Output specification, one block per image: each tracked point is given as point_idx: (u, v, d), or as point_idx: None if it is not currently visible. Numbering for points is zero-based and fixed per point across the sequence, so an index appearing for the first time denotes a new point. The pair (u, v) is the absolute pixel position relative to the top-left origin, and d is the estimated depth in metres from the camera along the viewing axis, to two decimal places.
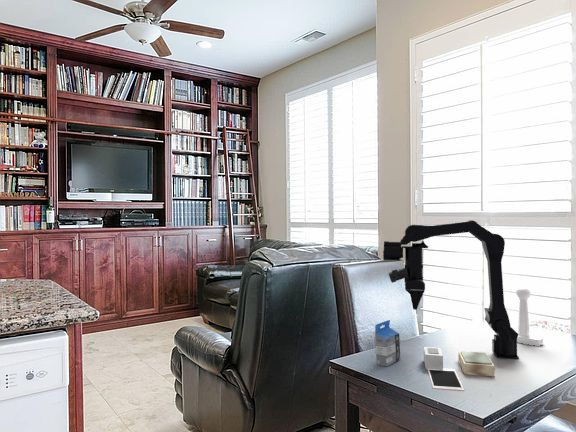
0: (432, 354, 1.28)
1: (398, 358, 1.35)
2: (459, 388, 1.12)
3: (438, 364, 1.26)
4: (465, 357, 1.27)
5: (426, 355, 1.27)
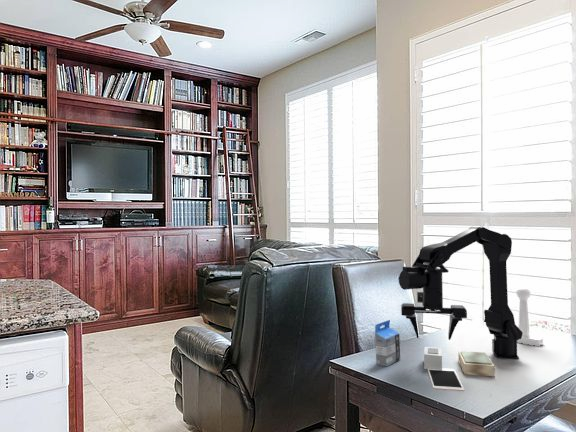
0: (431, 354, 1.28)
1: (398, 358, 1.35)
2: (459, 388, 1.12)
3: (437, 364, 1.26)
4: (465, 357, 1.27)
5: (425, 355, 1.28)
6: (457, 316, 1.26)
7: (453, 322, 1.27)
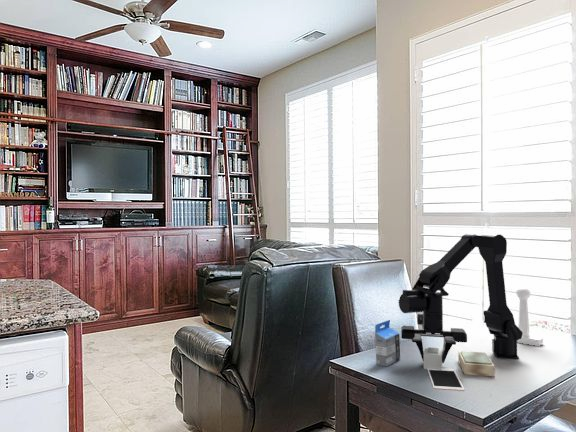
0: (431, 353, 1.28)
1: (398, 358, 1.35)
2: (460, 388, 1.12)
3: (436, 363, 1.26)
4: (465, 357, 1.27)
5: (424, 354, 1.28)
6: (457, 340, 1.26)
7: (446, 346, 1.27)
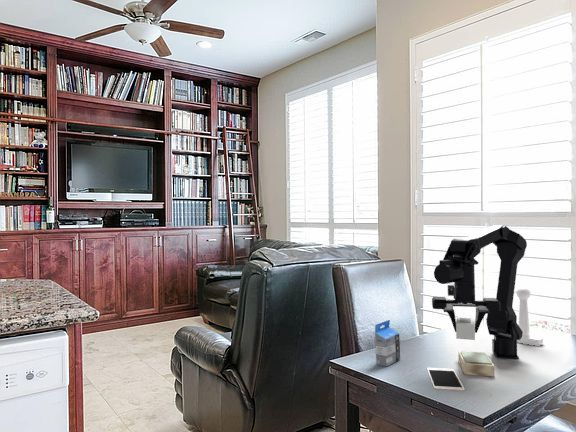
0: (463, 323, 1.26)
1: (398, 358, 1.35)
2: (460, 388, 1.12)
3: (469, 333, 1.24)
4: (465, 357, 1.27)
5: (457, 324, 1.26)
6: (491, 309, 1.24)
7: (479, 315, 1.25)
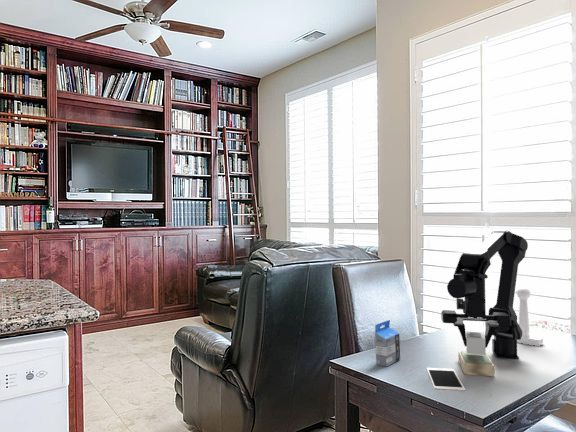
0: (474, 337, 1.25)
1: (398, 358, 1.35)
2: (460, 388, 1.12)
3: (480, 347, 1.23)
4: (465, 357, 1.27)
5: (467, 338, 1.25)
6: (501, 324, 1.23)
7: (490, 330, 1.24)
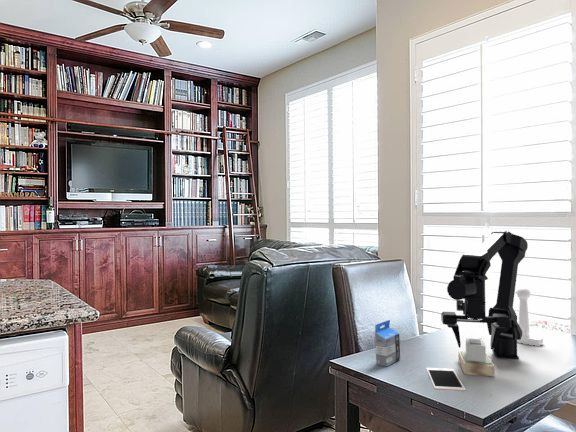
0: (474, 344, 1.25)
1: (398, 358, 1.35)
2: (460, 388, 1.12)
3: (480, 354, 1.23)
4: (465, 357, 1.27)
5: (467, 345, 1.25)
6: (501, 325, 1.23)
7: (496, 331, 1.24)
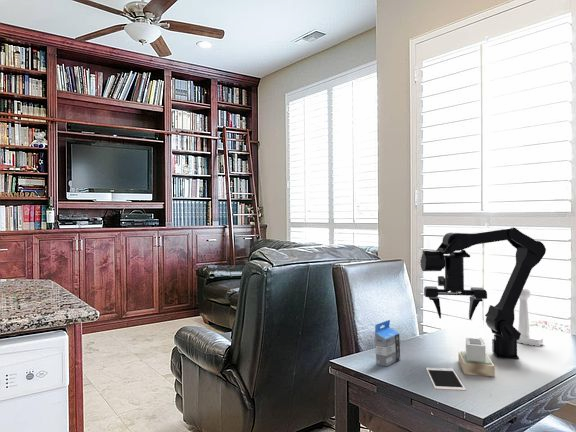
0: (474, 344, 1.25)
1: (398, 358, 1.35)
2: (461, 388, 1.12)
3: (480, 354, 1.23)
4: (465, 357, 1.27)
5: (467, 345, 1.25)
6: (478, 297, 1.35)
7: (474, 303, 1.36)
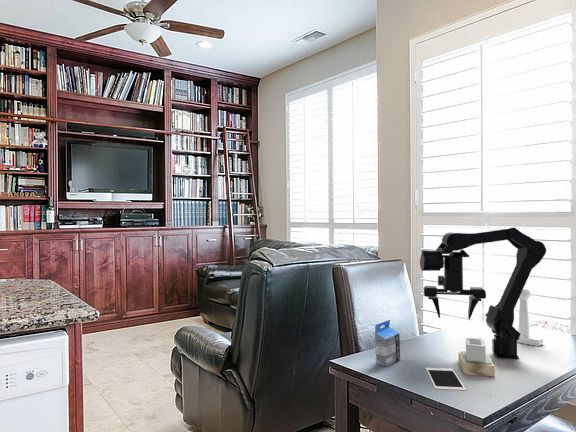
0: (474, 344, 1.25)
1: (398, 358, 1.35)
2: (461, 388, 1.12)
3: (480, 354, 1.23)
4: (465, 357, 1.27)
5: (467, 345, 1.25)
6: (477, 297, 1.36)
7: (472, 302, 1.37)
